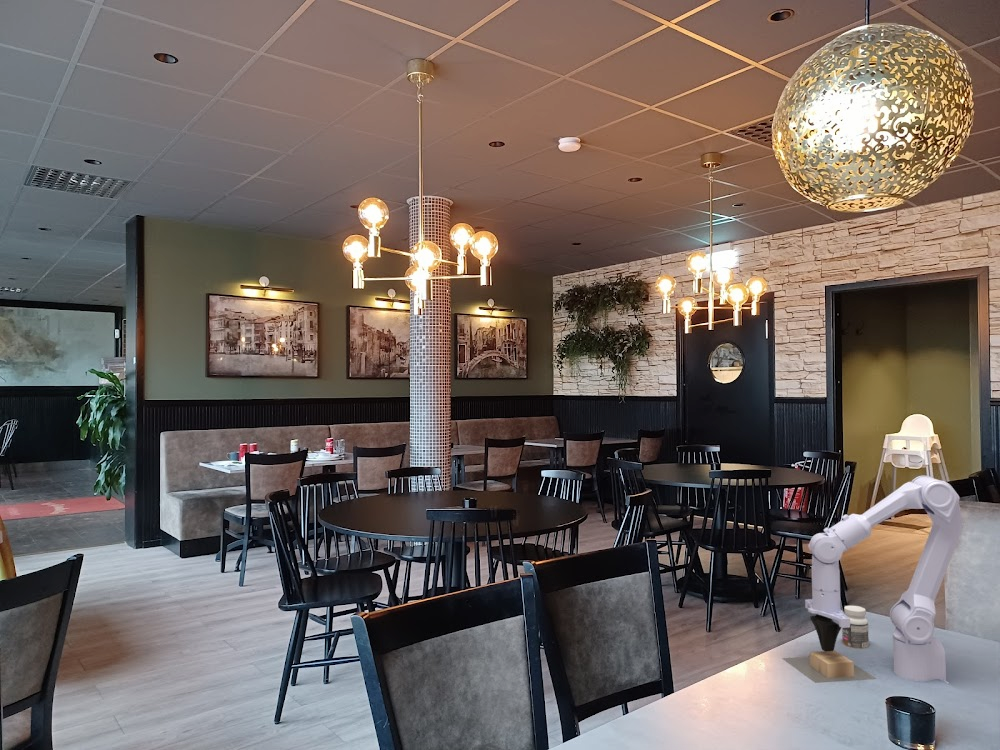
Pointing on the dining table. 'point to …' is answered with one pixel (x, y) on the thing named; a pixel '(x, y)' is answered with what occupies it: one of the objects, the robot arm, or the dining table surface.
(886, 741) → the dining table surface
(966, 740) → the dining table surface
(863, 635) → the pill bottle
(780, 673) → the dining table surface
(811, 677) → the board
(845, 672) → the block
